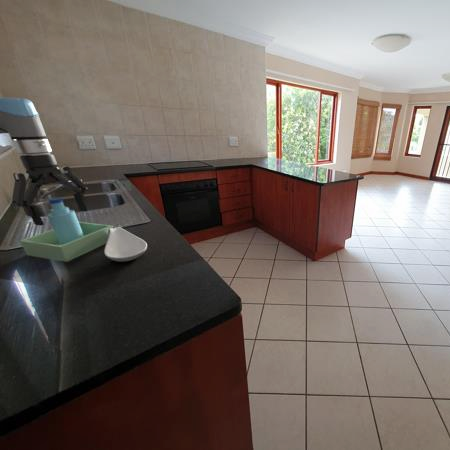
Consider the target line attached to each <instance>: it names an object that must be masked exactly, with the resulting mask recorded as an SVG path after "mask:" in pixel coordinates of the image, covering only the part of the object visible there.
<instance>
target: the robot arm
mask: <svg viewBox="0 0 450 450" xmlns="http://www.w3.org/2000/svg"><path fill="white" fill-rule="evenodd" d="M1 134H2V135H3V134H8V135H9V137H10V139H11V141H12V143H13V146H14V148H15V150H16V152H17V154H19V160H20V161H21V164H22V166H23V168H24V169H25V170H26V171H25V172H14V173H13V174H12V176H13V178H14V185H13V190H12V191H13V192H12V196H11V197H12V198H11V203H10V204H11V205H12V206H14V207H22V209H23V211H24V213H25V215H26V216H27V217H30V218H31V220H32V222H33V224H34V225H35V226H44V225H45V224H44V221H43V219H42V217H41V215H40V212H39V211H38V209H37V206H36V205H35V204H33V202H34V200H35V199H36V196H37V195H38V193H39V190H40V188H41V187H43V185H49V184H56V183H59V184H60V185H62V186H63V187H65V188H67V189H69V190H70V191H72V192H74V193H73V197H74V200H75V203H76V205H77V207H78V210H79V212H88V208H87V205H86V203H85V202H86V197H85V193H86V191H88V190H89V188H88V187H87V186H86V184H85V183H84V182H83V181H81V179H80V178H79V177H78V176H76V175H75V173H74V172H73V171H72V170H71V169H72V168H71V167H70V166H67V165H64V166H63V165H61V166H60V167H59V166H58V162H57V159H56V157H55V155H54V154H53V153H52V152H53V150H52V147H51V144H50V142H49V139H48V137H47V134H46V131H45V128H44V126H43V124H42V122H41V118H40V114H39V112H38V111H37V109H36V107H35V105H34V103H33V102H32V101H31V100H30V99H28V98H22V97H21V98H20V97H1V96H0V135H1ZM61 174H63V175H64V176H65V177H66V178H67V179H68V180H67V179H66V178H65V177H64V176H61ZM28 179H30V181H29V183H28V187H27V180H28ZM26 187H27V189H26Z"/></svg>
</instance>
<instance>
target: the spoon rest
mask: <svg viewBox="0 0 450 450" xmlns="http://www.w3.org/2000/svg"><path fill="white" fill-rule="evenodd" d="M147 249H148V244H147V242H146V241H145V240H144V239H142V238H141V237H138V236H136V235H135V234H133V233H131V232H129V231H127V230H126V229H124V228H122V227H121V226H117V227H113V229H109V230H108V241H107V243H106V244H105V247H104V256H105V257H107V259H109V260H111V261H114V262H118V263H119V262H121V263H122V262H130V261H133V260H136V259H137V258H140V257H141V256H142V255H143V254H144V253H146V250H147Z"/></svg>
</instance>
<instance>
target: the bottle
mask: <svg viewBox="0 0 450 450" xmlns="http://www.w3.org/2000/svg"><path fill="white" fill-rule="evenodd" d="M47 201H48V203H49V204H50V205H51V208H50V209H49V213H48V214H47V216H46V217H47V218H48V220H49V224H50V225H51V227H52V230H54V232H55V234H56V236H57V239H58V241H59V243H60V245H64V244H66V243H69V242H71V241H74V240H76V239H79V238H81V237H84V235H83V232H82V229H81V227H80V224H79V222H80V221H79V219H78V216H77V214H76V212H75V210H74V209H70V208H69V206H65V204H64V200H63V197H61V196H60V197H51V198H48V199H47Z"/></svg>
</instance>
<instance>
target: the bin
mask: <svg viewBox="0 0 450 450" xmlns="http://www.w3.org/2000/svg"><path fill="white" fill-rule="evenodd" d="M78 222H79V224H80V227H81V229H82V232H83V235H84V237H81V238H79V239H76V240H74V241H71V242H69V243H66V244H64V245H60V243H59V241H58V239H57V236H56V234H55V232H54V230H53V229H50V230H47V231H44V232H42V233H41V232H40V233H38V234H36V235H32V236H29V237H26V238H23V239H21V240H19V242H20V245H21V247H22V248H23V250H24V253H25V254H26V256H27V257H28V256H29V257H34V258H42V259H46V260H47V259H48V260H53V261H59V262H65V263H68V262H70V261H73V260H74V259H76V258H78V257H80V256H83V255H85V254H87V253H89V252H91V251H93V250H95V249H98V248H99V247H102V246H104V245H106V243H107V241H108V230H109V229H114V227H113V225H110V224H101V223H95V222H94V223H93V222H85V221H78Z"/></svg>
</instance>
